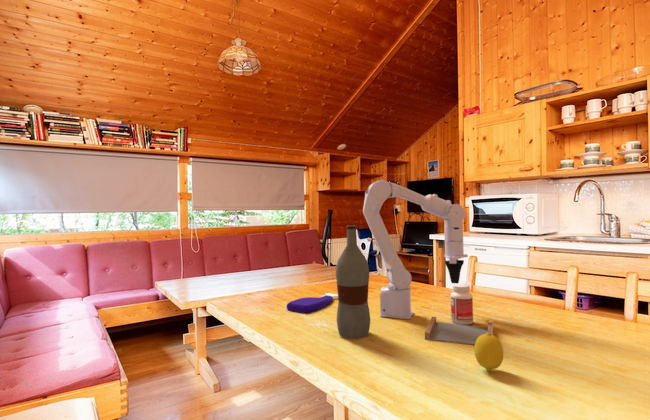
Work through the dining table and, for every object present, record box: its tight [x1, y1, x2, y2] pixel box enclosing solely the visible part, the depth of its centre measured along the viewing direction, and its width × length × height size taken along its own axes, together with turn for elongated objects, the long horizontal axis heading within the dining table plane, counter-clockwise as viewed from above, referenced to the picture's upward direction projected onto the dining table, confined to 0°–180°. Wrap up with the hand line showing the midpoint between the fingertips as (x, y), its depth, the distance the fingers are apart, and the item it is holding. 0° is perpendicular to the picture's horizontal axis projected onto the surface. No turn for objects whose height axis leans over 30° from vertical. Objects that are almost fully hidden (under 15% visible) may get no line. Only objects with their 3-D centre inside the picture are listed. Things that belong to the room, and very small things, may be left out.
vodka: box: [335, 224, 371, 340], centre depth 101 cm, size 9×9×30 cm
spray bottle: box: [286, 292, 338, 314], centre depth 134 cm, size 3×11×24 cm
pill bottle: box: [450, 283, 474, 325], centre depth 109 cm, size 6×6×11 cm
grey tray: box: [424, 316, 494, 346], centre depth 99 cm, size 16×15×2 cm
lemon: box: [473, 333, 504, 372], centre depth 76 cm, size 6×6×8 cm
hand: (455, 282), depth 118 cm, fingers closed
